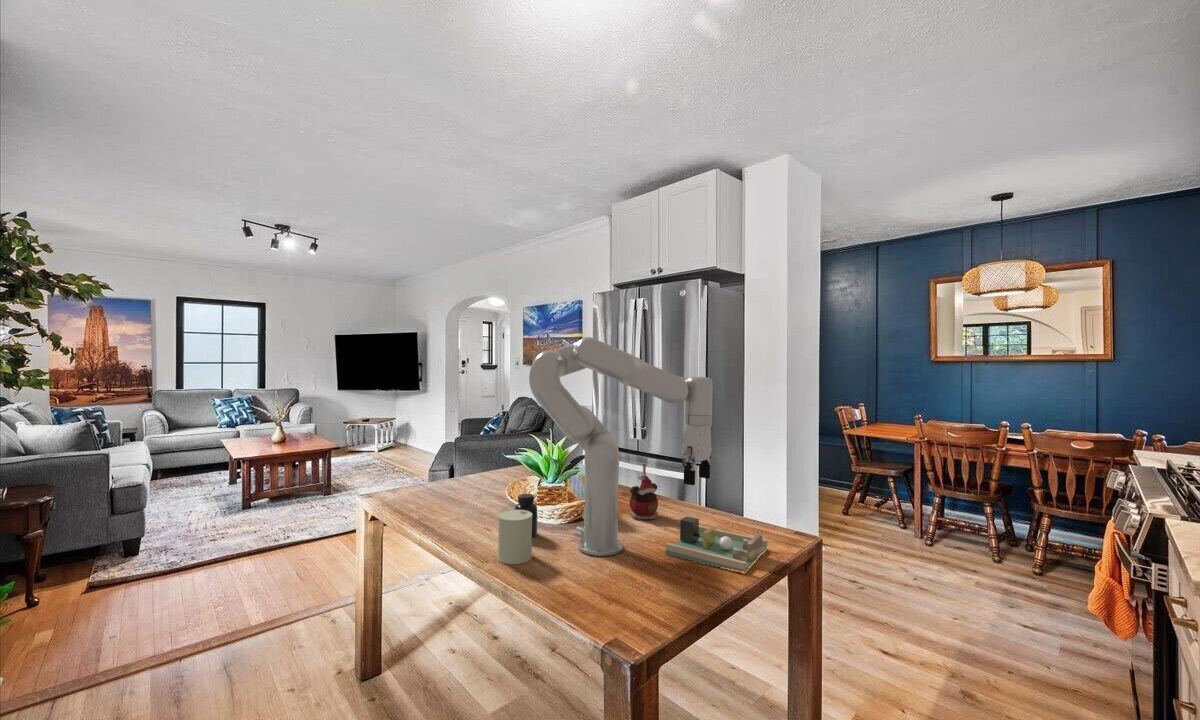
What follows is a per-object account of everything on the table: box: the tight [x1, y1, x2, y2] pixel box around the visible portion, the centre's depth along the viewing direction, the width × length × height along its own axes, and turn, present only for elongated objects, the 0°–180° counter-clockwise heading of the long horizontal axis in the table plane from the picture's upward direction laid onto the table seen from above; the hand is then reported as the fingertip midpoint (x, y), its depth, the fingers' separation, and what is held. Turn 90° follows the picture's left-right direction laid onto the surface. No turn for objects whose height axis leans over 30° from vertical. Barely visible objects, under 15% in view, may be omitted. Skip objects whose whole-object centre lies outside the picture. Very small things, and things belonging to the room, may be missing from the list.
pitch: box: [665, 524, 769, 572], centre depth 140 cm, size 22×20×3 cm
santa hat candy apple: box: [629, 463, 659, 520], centre depth 171 cm, size 11×9×18 cm
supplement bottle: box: [514, 493, 538, 539], centre depth 151 cm, size 7×7×12 cm
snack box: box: [566, 462, 585, 520], centre depth 175 cm, size 21×6×15 cm, turn 22°
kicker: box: [679, 516, 717, 549], centre depth 144 cm, size 9×6×6 cm
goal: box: [733, 533, 763, 563], centre depth 135 cm, size 5×9×5 cm, turn 146°
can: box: [497, 509, 533, 565], centre depth 135 cm, size 9×9×12 cm
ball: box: [719, 536, 733, 550], centre depth 139 cm, size 4×4×4 cm
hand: (697, 481), depth 142 cm, fingers open, 9 cm apart
